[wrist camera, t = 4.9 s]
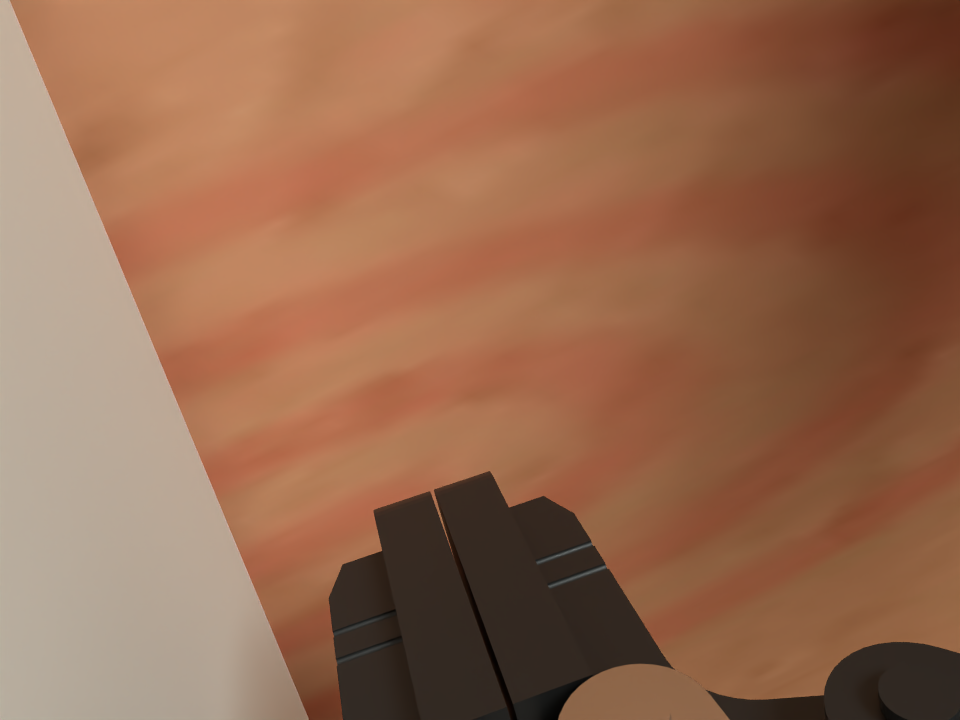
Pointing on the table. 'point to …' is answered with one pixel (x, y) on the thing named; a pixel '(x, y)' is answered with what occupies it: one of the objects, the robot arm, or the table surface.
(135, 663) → the gate
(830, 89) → the table surface
